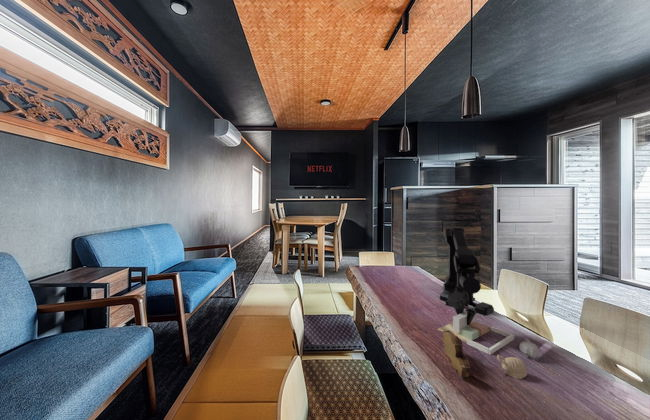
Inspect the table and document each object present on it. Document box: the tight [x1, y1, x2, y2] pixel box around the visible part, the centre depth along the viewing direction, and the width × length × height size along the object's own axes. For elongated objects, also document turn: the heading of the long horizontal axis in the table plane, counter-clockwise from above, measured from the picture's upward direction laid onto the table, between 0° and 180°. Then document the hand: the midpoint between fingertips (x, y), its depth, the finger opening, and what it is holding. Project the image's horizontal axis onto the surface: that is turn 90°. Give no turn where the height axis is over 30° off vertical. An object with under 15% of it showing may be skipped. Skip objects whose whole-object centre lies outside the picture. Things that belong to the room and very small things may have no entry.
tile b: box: [460, 326, 479, 341], centre depth 96 cm, size 4×4×2 cm
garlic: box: [518, 338, 540, 360], centre depth 86 cm, size 6×5×5 cm
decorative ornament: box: [496, 354, 528, 380], centre depth 77 cm, size 4×8×5 cm, turn 75°
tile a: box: [469, 320, 489, 337], centre depth 99 cm, size 4×4×2 cm
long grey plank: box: [452, 310, 477, 332], centre depth 100 cm, size 12×2×5 cm, turn 122°
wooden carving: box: [441, 330, 472, 378], centre depth 81 cm, size 16×5×10 cm, turn 179°
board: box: [437, 321, 491, 344], centre depth 101 cm, size 17×12×2 cm
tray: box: [466, 325, 516, 356], centre depth 92 cm, size 18×8×3 cm, turn 122°
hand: (464, 323), depth 100 cm, fingers closed on long grey plank, 2 cm apart
